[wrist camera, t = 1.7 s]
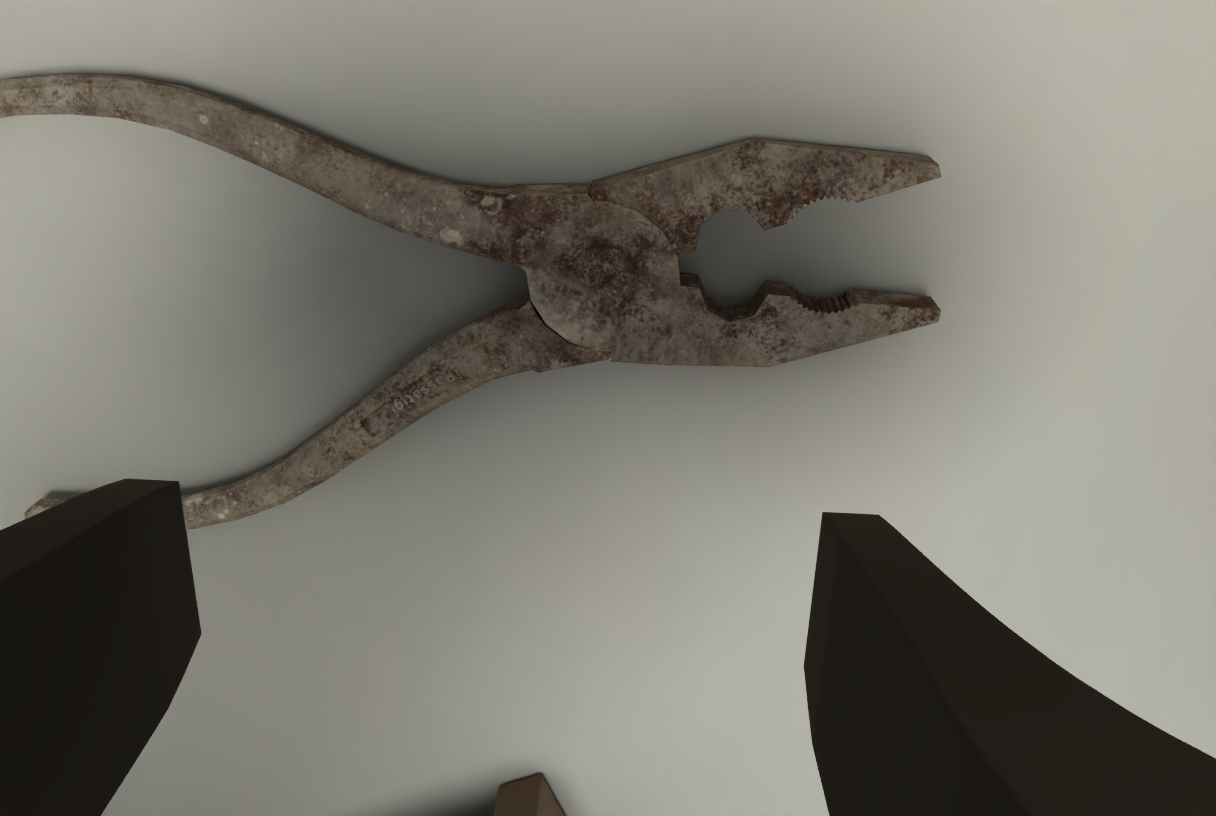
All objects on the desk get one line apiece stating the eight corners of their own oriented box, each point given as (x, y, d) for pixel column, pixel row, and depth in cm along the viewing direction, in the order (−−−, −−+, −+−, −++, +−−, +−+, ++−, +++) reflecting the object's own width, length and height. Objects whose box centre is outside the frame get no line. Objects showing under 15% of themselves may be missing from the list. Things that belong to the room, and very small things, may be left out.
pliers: (-211, 147, 20) (853, -251, 17) (-178, 139, 21) (844, -242, 17) (49, 576, 24) (971, 320, 20) (69, 555, 24) (959, 306, 21)
